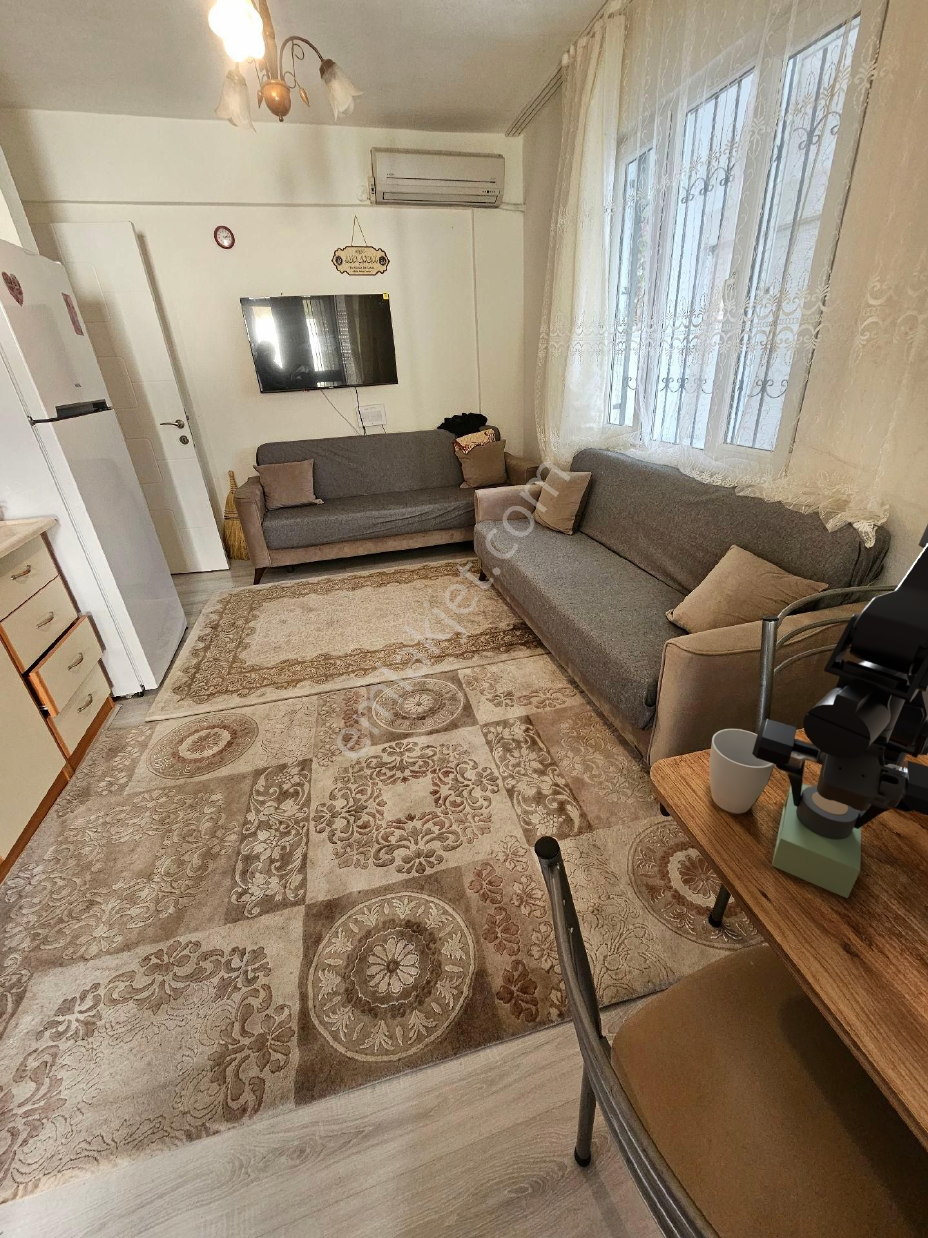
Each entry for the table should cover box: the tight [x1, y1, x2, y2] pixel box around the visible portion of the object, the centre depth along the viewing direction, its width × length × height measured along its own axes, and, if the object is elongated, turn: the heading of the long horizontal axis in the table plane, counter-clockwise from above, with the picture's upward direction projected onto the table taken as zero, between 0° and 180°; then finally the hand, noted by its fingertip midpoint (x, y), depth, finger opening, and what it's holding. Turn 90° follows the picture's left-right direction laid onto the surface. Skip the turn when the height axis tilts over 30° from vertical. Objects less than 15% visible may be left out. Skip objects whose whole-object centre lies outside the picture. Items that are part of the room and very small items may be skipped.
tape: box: [796, 785, 859, 839], centre depth 64 cm, size 6×6×3 cm
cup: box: [708, 728, 776, 814], centre depth 72 cm, size 8×8×10 cm
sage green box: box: [771, 783, 862, 899], centre depth 66 cm, size 12×8×5 cm, turn 144°
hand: (825, 815), depth 64 cm, fingers closed on tape, 6 cm apart
